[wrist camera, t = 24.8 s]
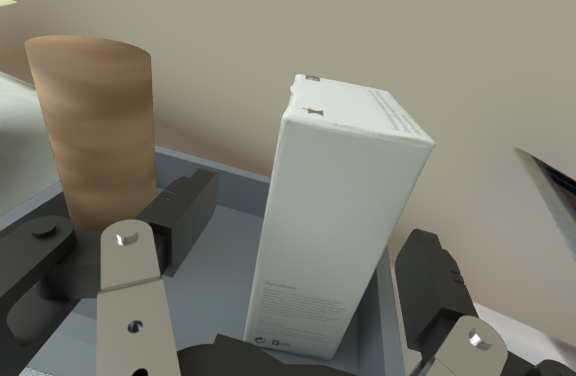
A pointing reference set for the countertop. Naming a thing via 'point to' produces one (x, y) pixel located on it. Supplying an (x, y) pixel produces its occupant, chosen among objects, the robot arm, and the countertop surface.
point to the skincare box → (330, 211)
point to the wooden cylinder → (97, 124)
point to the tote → (218, 282)
